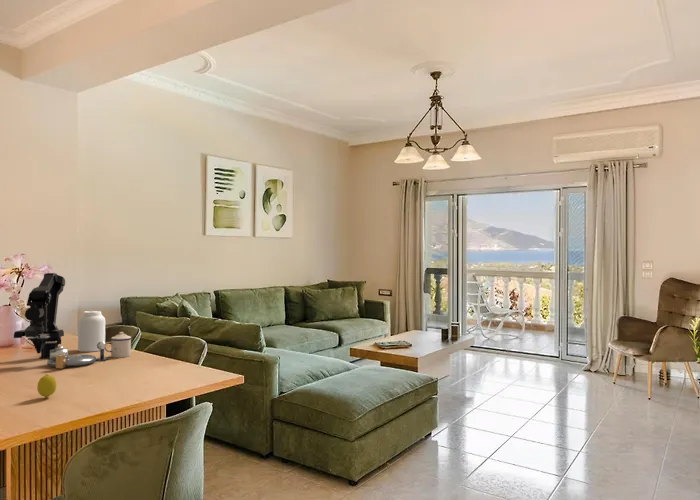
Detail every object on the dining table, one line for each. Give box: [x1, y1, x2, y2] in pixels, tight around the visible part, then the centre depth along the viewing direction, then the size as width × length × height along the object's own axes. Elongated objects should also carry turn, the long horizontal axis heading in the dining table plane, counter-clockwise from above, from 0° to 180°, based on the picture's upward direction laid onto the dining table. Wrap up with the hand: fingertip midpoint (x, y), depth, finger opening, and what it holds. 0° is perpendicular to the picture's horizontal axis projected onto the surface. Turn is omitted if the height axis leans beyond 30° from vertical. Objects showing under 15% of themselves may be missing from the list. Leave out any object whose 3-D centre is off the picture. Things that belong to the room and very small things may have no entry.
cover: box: [49, 345, 69, 360], centre depth 227 cm, size 7×7×5 cm
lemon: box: [36, 373, 57, 399], centre depth 173 cm, size 6×6×8 cm
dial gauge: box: [95, 342, 109, 362], centre depth 237 cm, size 4×4×9 cm
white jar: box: [77, 310, 106, 353], centre depth 263 cm, size 12×12×20 cm
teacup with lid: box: [104, 331, 132, 359], centre depth 247 cm, size 12×9×12 cm
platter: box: [46, 354, 97, 369], centre depth 227 cm, size 19×22×5 cm
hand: (38, 353), depth 227 cm, fingers closed
